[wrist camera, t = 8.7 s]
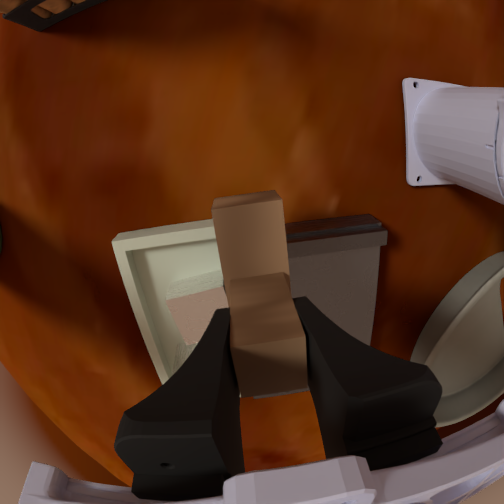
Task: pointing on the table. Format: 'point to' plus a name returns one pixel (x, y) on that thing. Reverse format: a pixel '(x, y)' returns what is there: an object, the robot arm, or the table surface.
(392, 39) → the table surface
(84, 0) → the ammunition clip
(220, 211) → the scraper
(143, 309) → the tray
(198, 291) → the chip
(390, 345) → the table surface
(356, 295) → the slot plate
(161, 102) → the table surface
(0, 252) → the wine bottle
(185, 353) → the chip
